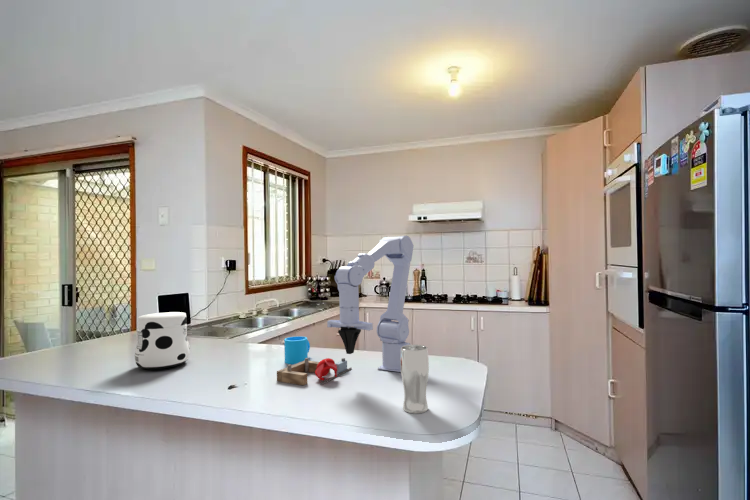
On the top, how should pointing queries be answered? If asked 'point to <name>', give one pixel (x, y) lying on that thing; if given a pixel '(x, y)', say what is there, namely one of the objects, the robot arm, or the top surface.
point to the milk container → (162, 340)
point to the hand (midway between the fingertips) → (350, 353)
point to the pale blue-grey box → (341, 365)
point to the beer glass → (414, 377)
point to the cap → (325, 368)
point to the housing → (301, 372)
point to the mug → (296, 349)
